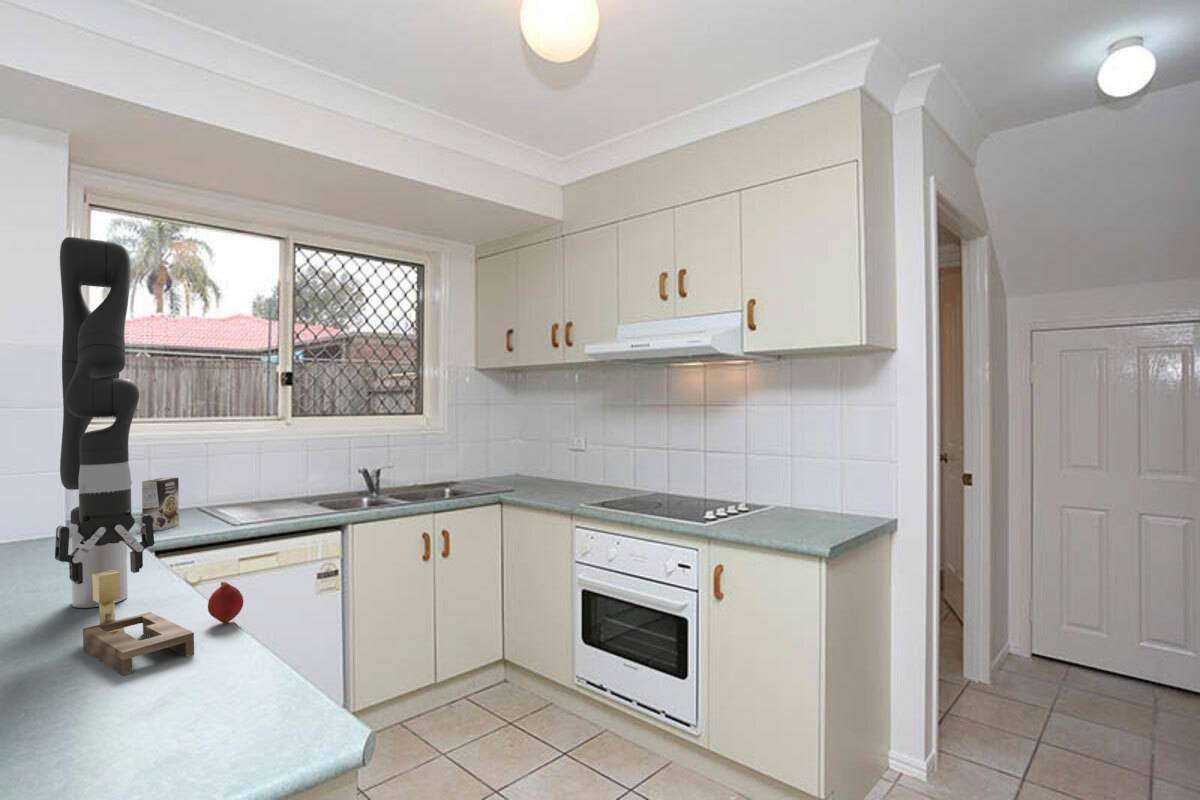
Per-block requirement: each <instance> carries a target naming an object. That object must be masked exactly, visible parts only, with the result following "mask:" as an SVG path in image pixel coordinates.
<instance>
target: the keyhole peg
mask: <svg viewBox="0 0 1200 800" xmlns="http://www.w3.org/2000/svg"><path fill="white" fill-rule="evenodd" d="M92 583H93V600H94V601H96V602H97V603H99V606H98V608H99V609H98V610H99V625H100V624H104V623H108V622H112V621H116V611H115V610H116V607H115V606H116V603H115V600H116V599H121V593H120V572H118V571H115V570H109V571H104V572H99V573H94V574H92ZM121 632H125V627H124V628H120V629H116V630H112V631H108V633H110V634H112V635H114V634H117V633H121Z"/></svg>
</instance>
